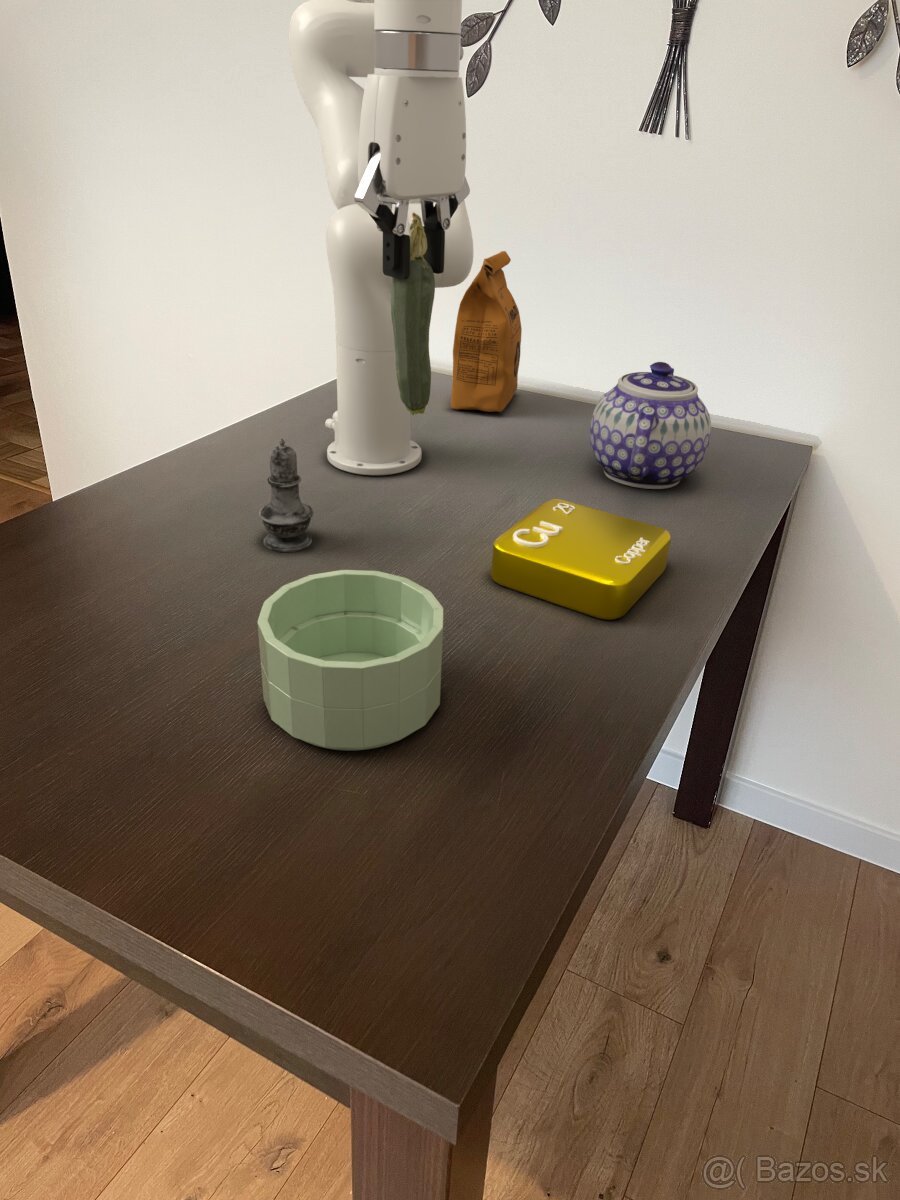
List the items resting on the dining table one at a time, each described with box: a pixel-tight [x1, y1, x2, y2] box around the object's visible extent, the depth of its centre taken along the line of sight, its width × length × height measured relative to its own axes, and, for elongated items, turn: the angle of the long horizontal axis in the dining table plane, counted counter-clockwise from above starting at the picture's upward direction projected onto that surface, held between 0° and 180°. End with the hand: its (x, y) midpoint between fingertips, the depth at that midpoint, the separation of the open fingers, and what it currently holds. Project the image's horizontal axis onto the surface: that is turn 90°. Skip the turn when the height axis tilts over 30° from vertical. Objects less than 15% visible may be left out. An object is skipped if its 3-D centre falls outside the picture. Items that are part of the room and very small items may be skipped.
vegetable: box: [391, 213, 436, 416], centre depth 93 cm, size 4×4×20 cm
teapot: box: [589, 361, 712, 490], centre depth 118 cm, size 25×15×15 cm, turn 160°
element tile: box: [490, 498, 672, 621], centre depth 97 cm, size 15×15×5 cm
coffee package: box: [450, 250, 523, 413], centre depth 139 cm, size 10×12×22 cm
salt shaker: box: [258, 438, 314, 553], centre depth 99 cm, size 6×6×12 cm
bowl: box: [256, 569, 444, 752], centre depth 76 cm, size 15×15×8 cm
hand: (413, 272), depth 90 cm, fingers closed on vegetable, 3 cm apart
